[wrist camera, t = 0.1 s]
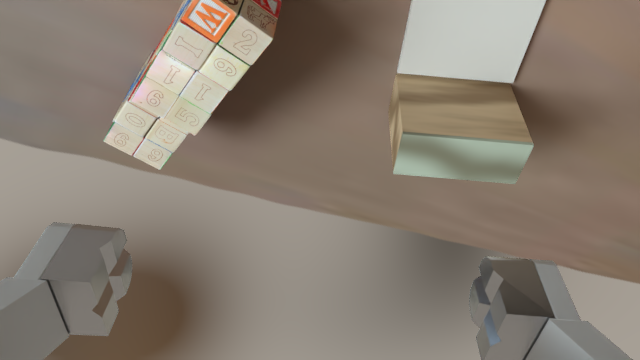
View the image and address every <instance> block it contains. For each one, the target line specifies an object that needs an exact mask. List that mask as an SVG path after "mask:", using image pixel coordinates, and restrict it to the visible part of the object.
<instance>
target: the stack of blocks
mask: <svg viewBox="0 0 640 360" xmlns="http://www.w3.org/2000/svg"><path fill="white" fill-rule="evenodd" d="M281 1H282V0H184V1H183V3H182V5H181V6H180V8H179V10H178V13H177V15H176V17H175V18H174V20H173V21H172V23H171V25H170V26H169V28H168V29H167V31H166V33H165V35H164V37H163V38H162V40H161V42H160V43H159V45H158V46H157V48H156V50H153V52H152V53H151V55H150V56H149V58H148V59H147V61H146V63H145V64H144V66H143V67H142V69H141V71H140V72H139V74H138V76H137V78H136V79H135V81H134V83H133V84H132V86H131V88H130V90H129V92H128V94H127V95H126V97H125V99H124V101H123V103H122V104H121V106H120V108H119V110H118V112H117V113H116V115H115V117H114V119H113V124H112V126H111V127H110V129H109V131H108V133H107V135H106V137H105V139H104V142H106V143H108V144H110V145H112V146H114V147H115V148H117V149H119V150H121V151H123V152H125V153H127V154H129V155H133V156H134V157H136V158H138V159H140V160H142V161H143V162H145V163H147V164H149V165H151V166H153V167H155V168H157V169H159V170H160V169H161V168H162V167H163V166H164V164H165V163H166V162H167V160H168V159H169V158H170V156H171V155H172V153H174V152H175V151H176V149H177V148H178V147H179V145H180V144H181V143H182V141H183V140H184V139H185V137H186V136H187V134H189V133H191V134H193V135H196V134H197V133H198V132H199V130H200V129H201V128H202V127H203V125H204V124H205V123H206V121H207V120H208V119H209V118H210V116H211V115H212V112H213V111H214V110H215V109H216V107H217V106H218V105H219V103H220V102H221V101H222V100H223V98H224V97H225V96H226V94H227V93H228V91H231V90H232V89H233V88H234V87H235V85H236V84H237V83H238V82H239V80H240V79H241V78H242V76H243V75H244V74H245V73H246V72H247V70H248V69H249V67H250V65H253V64H254V62H255V61H256V60H257V59H258V58H259V56H260V55H261V54H262V53H263V52H264V50H265V49H266V48H267V47H268V45H269V44H270V43H271V42H272V40H273V38H274V33H275V29H276V23H277V20H278V17H279V14H280V8H281Z"/></svg>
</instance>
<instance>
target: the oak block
mask: <svg viewBox="0 0 640 360" xmlns="http://www.w3.org/2000/svg"><path fill="white" fill-rule="evenodd" d="M388 114H389V126H390V138H391V151H392V163H393V174H402V175H414V176H426V177H438V178H449V179H461V180H473V181H485V182H497V183H509V184H515V183H516V181H517V179H518V177H519V175H520V173H521V171H522V169H523V167H524V165H525V163H526V161H527V159H528V157H529V155H530V153H531V150H532V148H533V146H534V144H533V142H532V139H531V137H530V134H529V131H528V129H527V126H526V124H525V121H524V119H523V116H522V113H521V111H520V108H519V106H518V103H517V101H516V98H515V95H514V93H513V90H512V88H511V85H510V84H509V83H498V82H486V81H475V80H463V79H452V78H440V77H429V76H417V75H406V74H396V77H395V82H394V87H393V92H392V97H391V102H390V106H389V111H388Z"/></svg>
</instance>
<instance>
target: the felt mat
mask: <svg viewBox="0 0 640 360" xmlns="http://www.w3.org/2000/svg"><path fill="white" fill-rule="evenodd" d="M545 2H546V0H412V1H411V5H410V10H409V15H408V20H407V25H406V30H405V34H404V39H403V44H402V49H401V54H400V59H399V63H398V68H397V73H403V74H415V75H426V76H438V77H449V78H461V79H472V80H484V81H495V82H506V83H513V82H514V79H515V77H516V74H517V72H518V69H519V67H520V64H521V62H522V59H523V57H524V54H525V52H526V49H527V47H528V44H529V42H530V39H531V37H532V34H533V32H534V29H535V27H536V24H537V22H538V19H539V17H540V14H541V12H542V9H543V7H544V4H545Z"/></svg>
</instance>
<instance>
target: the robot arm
mask: <svg viewBox="0 0 640 360" xmlns="http://www.w3.org/2000/svg"><path fill="white" fill-rule="evenodd" d="M126 241H127V239H126V235H125V232H124V230H122V229H120V228H111V227H101V226H91V225H81V224H67V223H57V222H54V223H52V224H51V225H49V226H48V227H47V228H46V229H45V231H44V233H43V234H42V236H41V237H40V239H39V240H38V242H37V243H36V245H35V246H34V248H33V249H32V251H31V253H30V254H29V255H28V257H27V259H26V260H25V262H24V263H23V265H22V266H21V268H20V269H19V271H18V272H17V274H16V275H15V277H14V278H5V279H3V280H2V281H1V282H0V360H43V359H44V358H45V357H46V356H48V355H49V354H50V353H51V352H52V351H53V350H54V349H55V348H56V347H58V346H59V345H60V344H61V343H62V342H63V341H64V340H66V339H67V338H68V337H69V334H75V335H97V336H108V335H109V332H110V330H111V328H112V325H113V323H114V321H115V318H116V316H117V313H118V311H119V310H118V307H117V303H116V301H117V300H119V299H120V298H121V297H122V296H124V295H125V294H126V292H127V290H128V287H129V284H130V280H131V274H132V260H131V256H130V254H129V253H128V252H127V251H126V250H125V249H124V245H125V244H126ZM479 269H480V273H481V276H480V277H478V278H477V279H475V280H474V281H473V284H472V287H471V290H470V298H469V306H470V313H471V318H472V321H473V322H474V323H475V324H476V325H477V326H478V327H479V328H480V330H479V332H478V334H477V336H476V340H477V344H478V348H479V352H480V357H481V360H633V359H631V358H630V357H629V356H628V355H627V354H626V353H624V352H623V351H622V350H621V349H620V348H619V347H617V346H616V345H615V344H614V343H613V342H611V341H610V340H609V339H608V338H607V337H606V336H604V335H603V334H602V333H601V332H600V331H598V330H597V329H596V328H595V327H594V326H593V325H592V324H590V323H589V322H588V321H581V319H580V317H579V315H578V313H577V310H576V308H575V306H574V303H573V301H572V299H571V297H570V294H569V292H568V290H567V287H566V285H565V283H564V281H563V278H562V276H561V274H560V272H559V269H558V267H557V265H556V264H555V263H554V262H553V261H548V260H534V259H530V260H528V259H520V258H505V257H490V256H485V257H484V259H482V261H481V264H480V266H479Z"/></svg>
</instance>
